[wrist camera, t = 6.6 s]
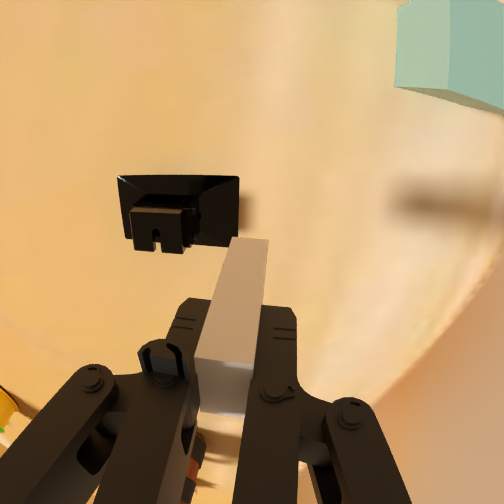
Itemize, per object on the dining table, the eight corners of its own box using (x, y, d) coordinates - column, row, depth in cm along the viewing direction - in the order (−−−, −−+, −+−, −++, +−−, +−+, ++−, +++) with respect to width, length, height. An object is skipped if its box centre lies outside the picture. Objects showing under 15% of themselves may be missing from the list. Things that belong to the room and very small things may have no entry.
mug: (145, 442, 44) (126, 500, 34) (155, 413, 39) (131, 485, 28) (194, 459, 45) (181, 518, 35) (214, 433, 39) (199, 506, 29)
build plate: (114, 242, 27) (88, 269, 23) (103, 161, 23) (70, 178, 19) (255, 253, 26) (247, 287, 22) (258, 162, 22) (251, 181, 18)
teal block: (397, 8, 15) (448, -22, 8) (469, 32, 15) (536, 23, 8) (393, 86, 18) (447, 89, 11) (465, 106, 18) (532, 122, 11)
